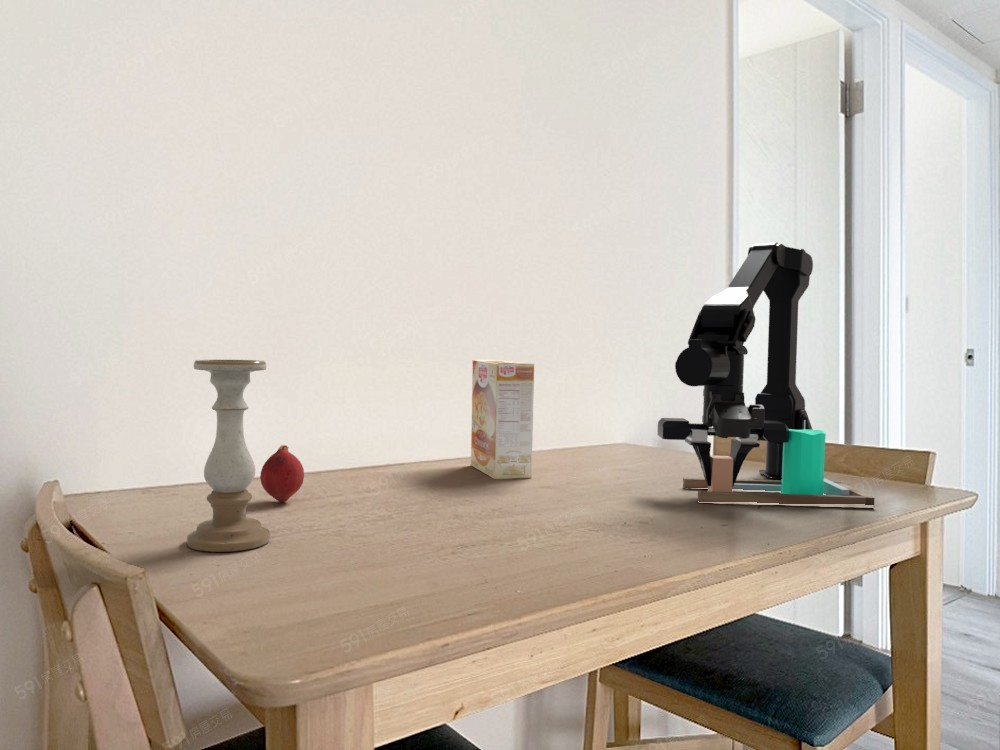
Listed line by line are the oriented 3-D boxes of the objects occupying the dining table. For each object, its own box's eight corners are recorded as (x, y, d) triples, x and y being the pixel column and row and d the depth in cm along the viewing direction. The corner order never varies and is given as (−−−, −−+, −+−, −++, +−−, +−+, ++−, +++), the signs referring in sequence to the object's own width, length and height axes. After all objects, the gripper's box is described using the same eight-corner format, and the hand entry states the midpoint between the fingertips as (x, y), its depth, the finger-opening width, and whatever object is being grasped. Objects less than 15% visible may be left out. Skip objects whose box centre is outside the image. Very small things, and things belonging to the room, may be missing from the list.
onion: (291, 507, 108) (292, 448, 107) (252, 505, 109) (252, 446, 108) (310, 499, 113) (311, 443, 113) (273, 497, 114) (273, 441, 114)
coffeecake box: (469, 465, 147) (471, 359, 146) (506, 464, 149) (508, 359, 148) (492, 479, 133) (495, 362, 132) (533, 478, 135) (536, 362, 134)
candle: (777, 499, 121) (781, 420, 120) (784, 493, 126) (787, 417, 125) (820, 504, 118) (823, 423, 117) (824, 497, 123) (828, 420, 123)
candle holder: (241, 529, 95) (243, 359, 94) (286, 542, 90) (288, 361, 89) (171, 543, 88) (172, 359, 87) (215, 558, 83) (216, 362, 82)
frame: (703, 489, 127) (704, 452, 127) (824, 493, 127) (826, 455, 126) (716, 502, 118) (718, 461, 117) (848, 506, 117) (850, 465, 117)
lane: (682, 487, 129) (683, 477, 129) (840, 492, 128) (840, 482, 128) (699, 503, 116) (699, 492, 116) (874, 508, 115) (874, 497, 115)
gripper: (670, 386, 114) (667, 494, 115) (803, 389, 113) (799, 498, 114) (658, 382, 125) (655, 480, 126) (779, 384, 124) (775, 484, 125)
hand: (719, 486), depth 122 cm, fingers closed on frame, 3 cm apart
